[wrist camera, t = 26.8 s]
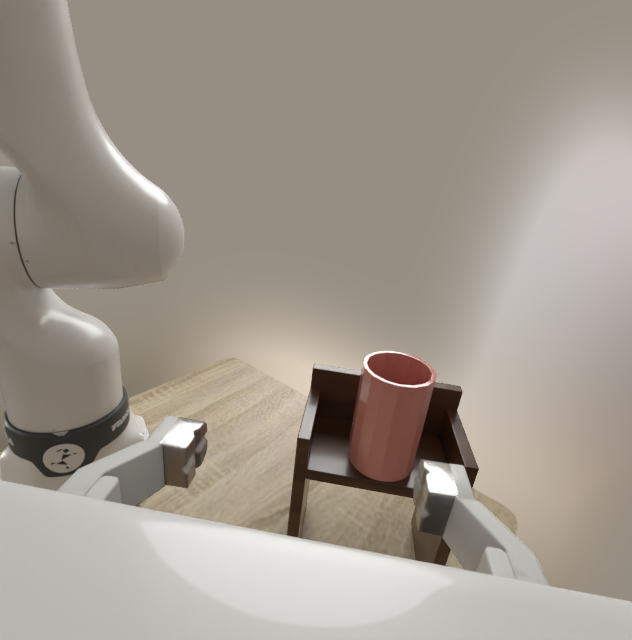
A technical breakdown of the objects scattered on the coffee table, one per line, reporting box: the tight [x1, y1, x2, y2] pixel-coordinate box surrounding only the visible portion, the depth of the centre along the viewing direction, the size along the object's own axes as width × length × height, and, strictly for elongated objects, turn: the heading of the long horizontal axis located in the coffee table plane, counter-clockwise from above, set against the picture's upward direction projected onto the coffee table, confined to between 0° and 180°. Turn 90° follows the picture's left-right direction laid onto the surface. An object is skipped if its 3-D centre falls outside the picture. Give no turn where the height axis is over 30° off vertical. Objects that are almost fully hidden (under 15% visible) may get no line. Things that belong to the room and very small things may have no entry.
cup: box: [348, 351, 436, 482], centre depth 37 cm, size 7×7×10 cm
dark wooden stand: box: [287, 364, 479, 566], centre depth 42 cm, size 10×16×21 cm, turn 83°
